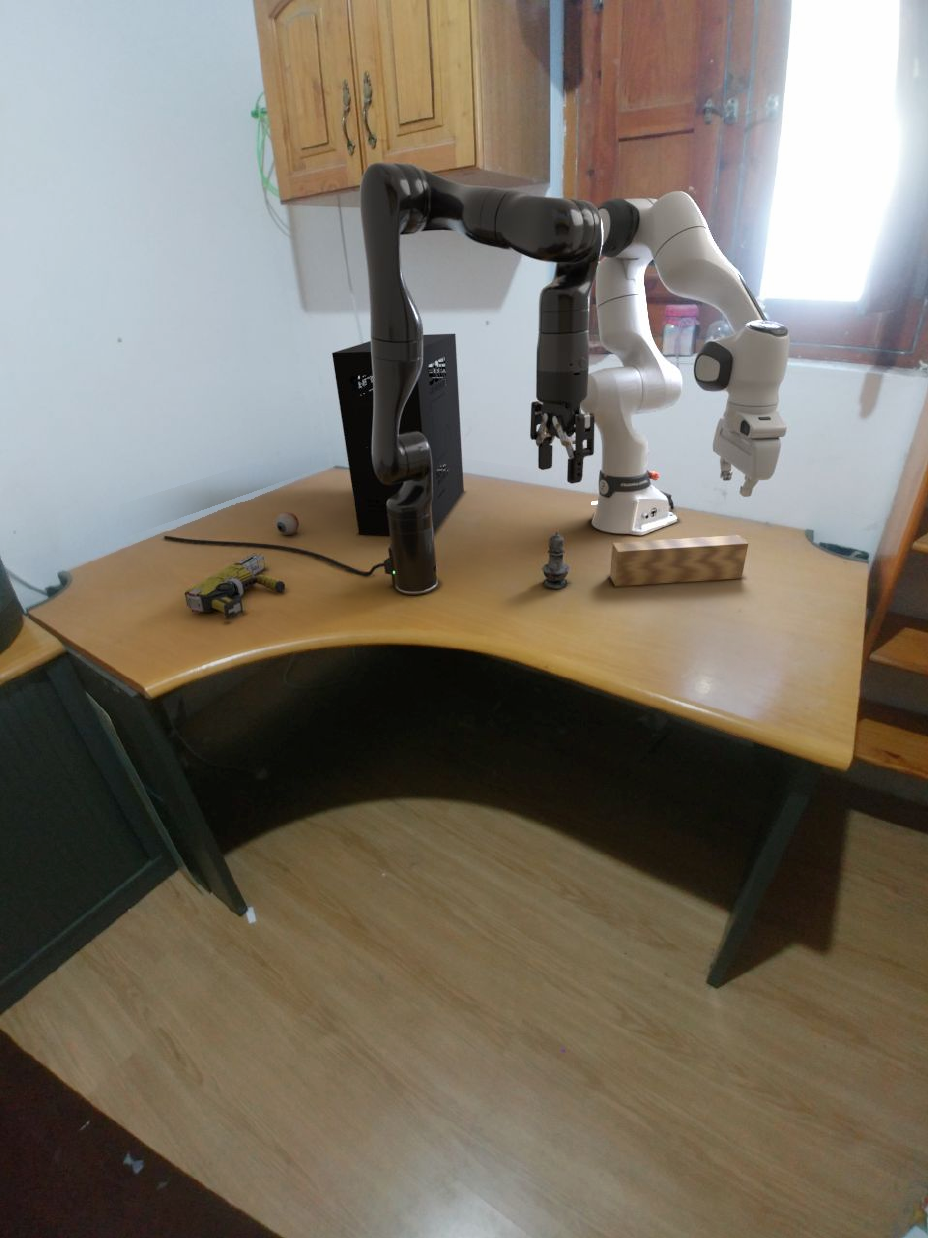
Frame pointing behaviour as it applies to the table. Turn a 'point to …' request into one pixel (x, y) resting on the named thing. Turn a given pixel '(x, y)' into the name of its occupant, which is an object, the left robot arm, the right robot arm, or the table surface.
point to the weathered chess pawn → (555, 564)
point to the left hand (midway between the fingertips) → (559, 475)
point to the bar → (678, 560)
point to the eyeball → (287, 523)
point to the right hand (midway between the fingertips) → (734, 487)
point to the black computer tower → (402, 429)
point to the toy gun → (230, 587)
